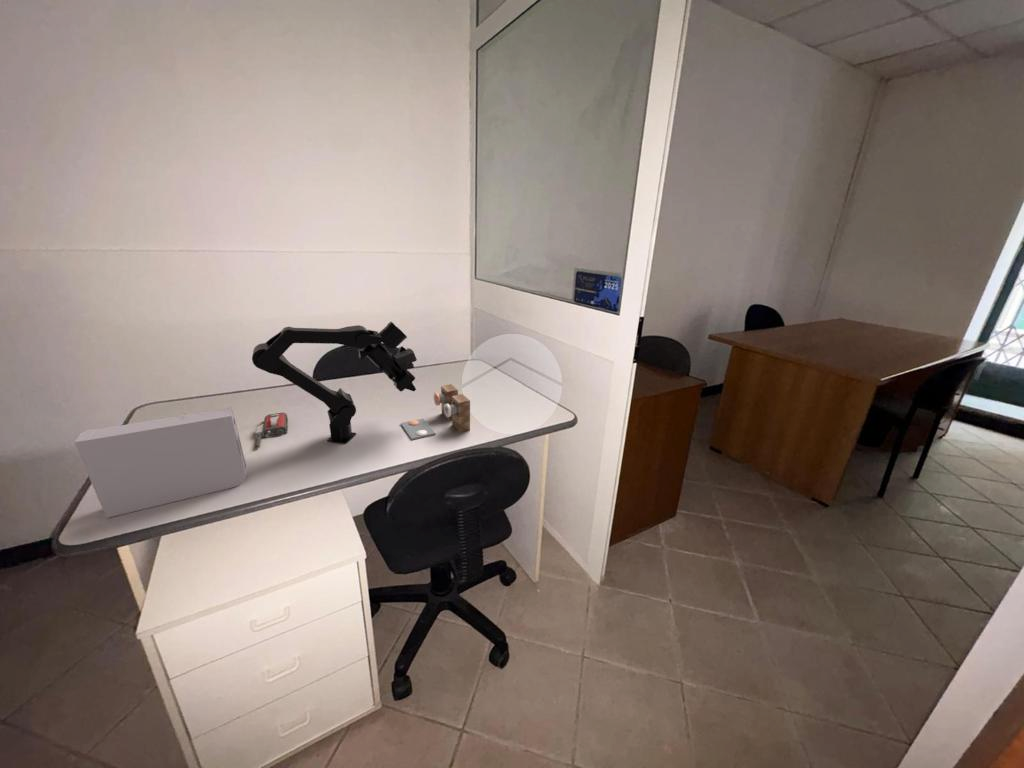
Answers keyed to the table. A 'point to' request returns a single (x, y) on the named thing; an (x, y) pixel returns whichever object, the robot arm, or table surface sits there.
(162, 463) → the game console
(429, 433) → the card
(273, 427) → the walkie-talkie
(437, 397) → the plunger
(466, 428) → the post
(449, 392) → the post
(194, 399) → the table surface
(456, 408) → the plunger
